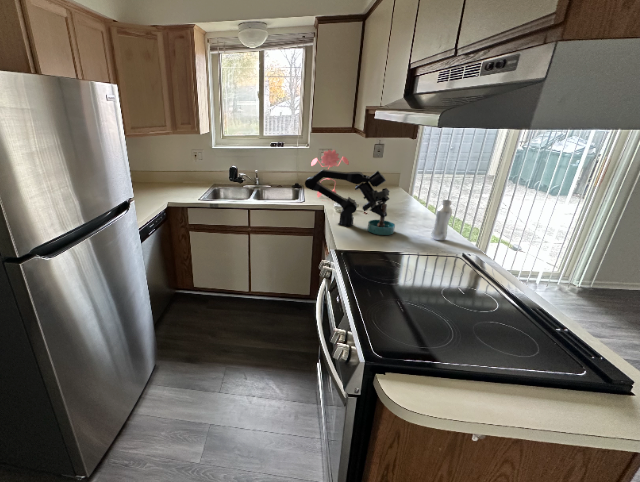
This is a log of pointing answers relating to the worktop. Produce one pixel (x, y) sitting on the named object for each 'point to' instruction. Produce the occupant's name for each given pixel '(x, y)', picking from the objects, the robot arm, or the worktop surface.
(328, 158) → the figurine
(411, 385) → the worktop surface
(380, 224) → the post
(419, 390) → the worktop surface
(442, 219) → the plastic bottle
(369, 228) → the bowl
